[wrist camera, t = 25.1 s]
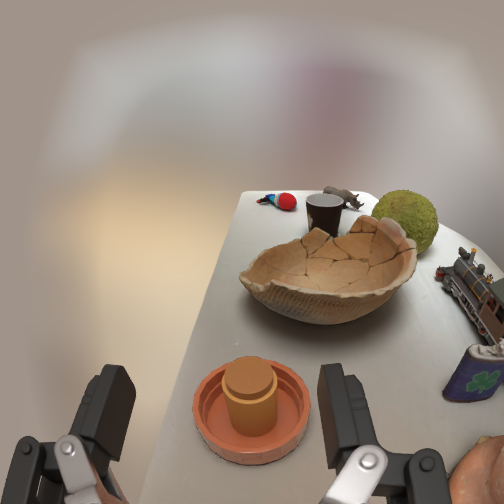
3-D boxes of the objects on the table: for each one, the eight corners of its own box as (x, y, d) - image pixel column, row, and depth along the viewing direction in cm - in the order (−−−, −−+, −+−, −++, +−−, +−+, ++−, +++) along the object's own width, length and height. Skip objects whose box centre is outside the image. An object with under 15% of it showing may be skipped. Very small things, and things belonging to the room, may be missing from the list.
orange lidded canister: (229, 437, 30) (217, 397, 26) (231, 399, 35) (222, 353, 30) (278, 436, 30) (278, 396, 25) (276, 398, 35) (276, 352, 30)
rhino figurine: (360, 215, 82) (362, 196, 79) (318, 205, 90) (319, 186, 87) (365, 211, 85) (367, 192, 82) (324, 201, 93) (325, 183, 90)
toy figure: (254, 207, 95) (285, 213, 83) (253, 192, 94) (284, 195, 82) (273, 203, 99) (305, 208, 87) (272, 188, 98) (304, 192, 86)
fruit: (378, 266, 60) (362, 195, 59) (377, 256, 73) (364, 198, 72) (449, 251, 53) (434, 179, 52) (435, 244, 66) (423, 185, 66)
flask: (490, 385, 30) (524, 333, 25) (494, 400, 28) (531, 349, 22) (440, 387, 33) (470, 333, 27) (442, 403, 30) (476, 351, 25)
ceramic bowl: (274, 239, 69) (283, 177, 60) (388, 274, 62) (412, 215, 53) (211, 332, 45) (212, 253, 37) (379, 389, 38) (428, 321, 30)
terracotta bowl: (195, 464, 27) (186, 450, 25) (205, 379, 39) (199, 359, 36) (312, 462, 27) (316, 448, 25) (301, 376, 38) (303, 355, 36)
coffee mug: (340, 249, 67) (343, 207, 62) (303, 246, 69) (303, 205, 64) (340, 227, 77) (342, 190, 72) (307, 225, 79) (308, 188, 74)
